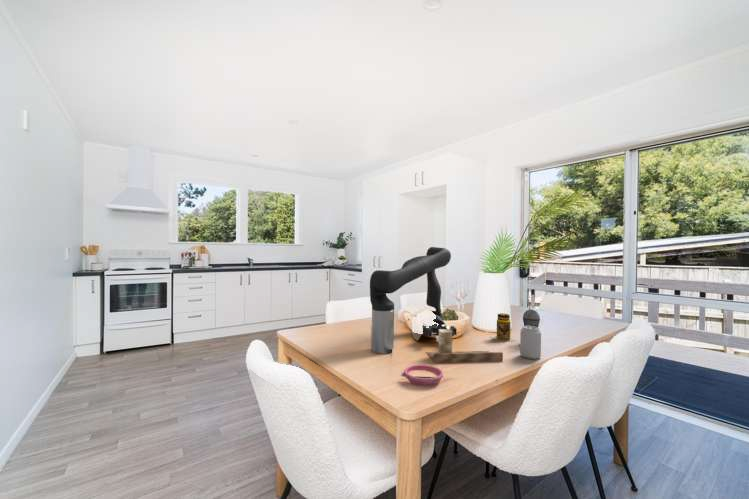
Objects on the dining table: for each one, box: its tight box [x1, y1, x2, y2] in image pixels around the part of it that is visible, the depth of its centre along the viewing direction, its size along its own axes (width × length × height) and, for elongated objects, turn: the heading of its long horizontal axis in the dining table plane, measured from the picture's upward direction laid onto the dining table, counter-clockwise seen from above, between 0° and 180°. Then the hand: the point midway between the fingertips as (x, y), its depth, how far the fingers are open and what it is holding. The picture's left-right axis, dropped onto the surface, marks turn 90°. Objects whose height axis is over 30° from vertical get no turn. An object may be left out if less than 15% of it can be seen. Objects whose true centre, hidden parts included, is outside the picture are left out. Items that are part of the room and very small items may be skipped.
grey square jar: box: [519, 325, 542, 360], centre depth 130 cm, size 8×8×12 cm
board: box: [425, 350, 504, 364], centre depth 125 cm, size 26×12×4 cm, turn 97°
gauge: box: [437, 329, 453, 353], centre depth 123 cm, size 4×7×10 cm
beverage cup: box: [522, 299, 541, 328], centre depth 148 cm, size 7×7×20 cm
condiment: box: [490, 313, 514, 342], centre depth 156 cm, size 7×8×12 cm
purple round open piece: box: [403, 364, 444, 387], centre depth 106 cm, size 12×12×3 cm
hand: (441, 334), depth 134 cm, fingers open, 8 cm apart
